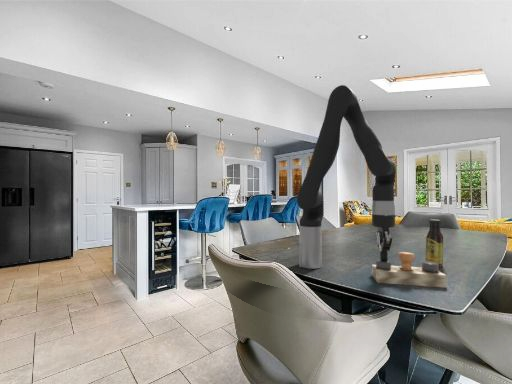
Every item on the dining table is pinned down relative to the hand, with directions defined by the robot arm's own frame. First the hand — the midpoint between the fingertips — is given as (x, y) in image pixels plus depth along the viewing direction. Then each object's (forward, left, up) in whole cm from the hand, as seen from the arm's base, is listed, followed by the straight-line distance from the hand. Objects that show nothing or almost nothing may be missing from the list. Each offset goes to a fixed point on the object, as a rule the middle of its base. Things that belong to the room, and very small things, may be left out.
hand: (383, 261), depth 93 cm
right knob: (+15, 0, -6) cm, 16 cm away
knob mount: (+7, 0, -7) cm, 10 cm away
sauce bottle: (+26, +24, -7) cm, 36 cm away
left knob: (0, 0, -6) cm, 6 cm away
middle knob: (+7, 0, -3) cm, 8 cm away
